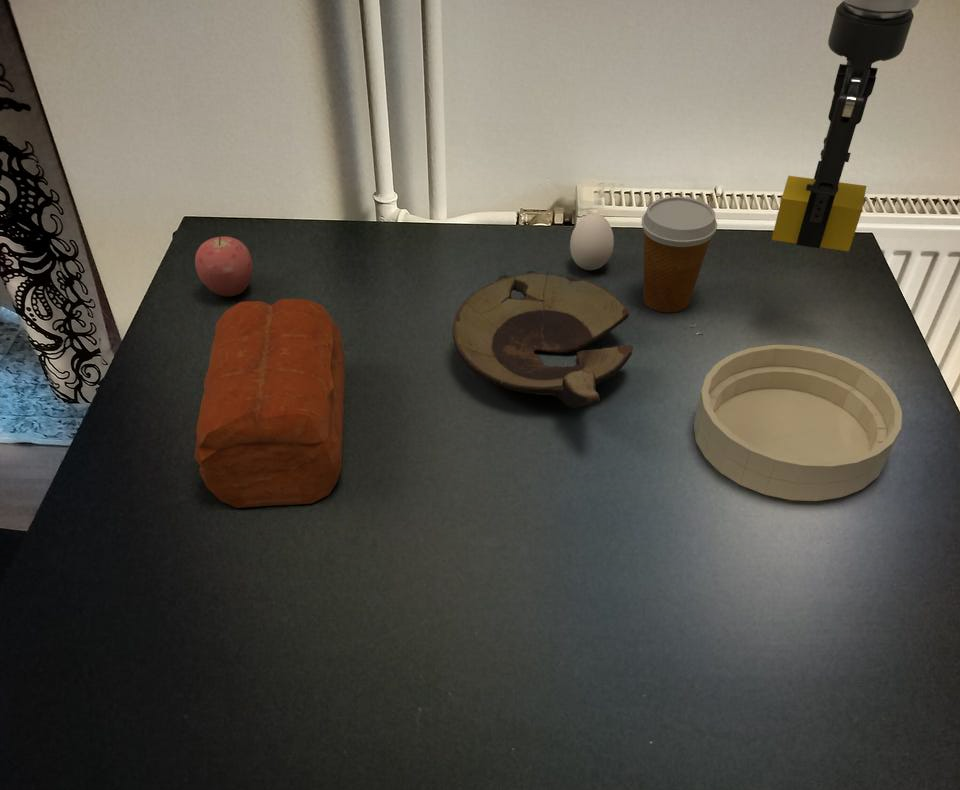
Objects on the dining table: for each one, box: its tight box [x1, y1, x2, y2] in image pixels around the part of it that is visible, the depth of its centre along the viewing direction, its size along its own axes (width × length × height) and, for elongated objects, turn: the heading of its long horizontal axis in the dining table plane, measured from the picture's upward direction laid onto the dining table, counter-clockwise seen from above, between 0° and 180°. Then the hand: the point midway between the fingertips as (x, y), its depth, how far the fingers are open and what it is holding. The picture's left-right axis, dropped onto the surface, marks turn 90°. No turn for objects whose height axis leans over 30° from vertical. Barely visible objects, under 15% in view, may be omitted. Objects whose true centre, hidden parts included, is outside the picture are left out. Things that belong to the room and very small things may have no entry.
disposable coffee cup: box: [641, 196, 718, 313], centre depth 117 cm, size 10×10×12 cm
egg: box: [569, 212, 615, 271], centre depth 124 cm, size 6×6×8 cm
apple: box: [194, 236, 254, 298], centre depth 120 cm, size 7×7×8 cm
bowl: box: [693, 344, 903, 502], centre depth 101 cm, size 22×22×6 cm
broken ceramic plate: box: [451, 270, 634, 408], centre depth 108 cm, size 22×30×8 cm
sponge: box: [771, 175, 867, 252], centre depth 105 cm, size 9×6×5 cm, turn 71°
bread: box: [194, 298, 346, 509], centre depth 101 cm, size 16×27×11 cm, turn 4°
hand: (811, 231), depth 107 cm, fingers closed on sponge, 6 cm apart
